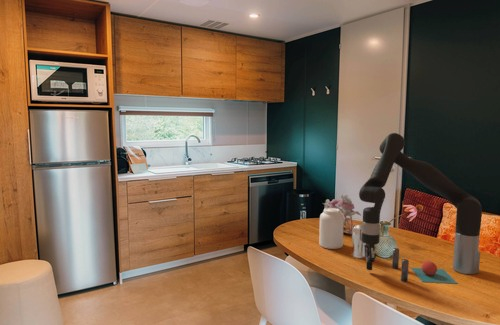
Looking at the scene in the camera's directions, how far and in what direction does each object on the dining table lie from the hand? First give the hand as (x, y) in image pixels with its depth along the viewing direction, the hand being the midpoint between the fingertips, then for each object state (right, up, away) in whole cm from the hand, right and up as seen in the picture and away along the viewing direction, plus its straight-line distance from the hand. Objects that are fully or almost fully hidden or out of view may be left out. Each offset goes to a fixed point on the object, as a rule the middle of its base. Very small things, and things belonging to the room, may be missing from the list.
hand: (369, 269), depth 157 cm
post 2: (+12, -2, -8) cm, 15 cm away
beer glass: (+1, +1, +19) cm, 19 cm away
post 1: (+14, -1, +5) cm, 15 cm away
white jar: (-9, +2, +34) cm, 36 cm away
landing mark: (+27, -2, -3) cm, 27 cm away
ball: (+25, +1, -3) cm, 25 cm away
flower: (+3, +6, +60) cm, 60 cm away
